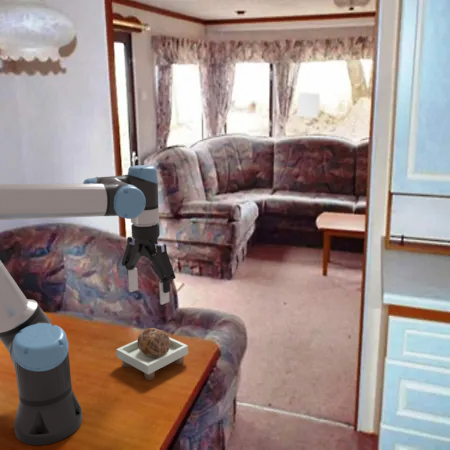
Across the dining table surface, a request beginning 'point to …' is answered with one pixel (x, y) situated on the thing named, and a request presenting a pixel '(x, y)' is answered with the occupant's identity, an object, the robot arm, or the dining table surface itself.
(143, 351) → the seashell
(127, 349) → the shallow white square tray
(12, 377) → the dining table surface
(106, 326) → the dining table surface
